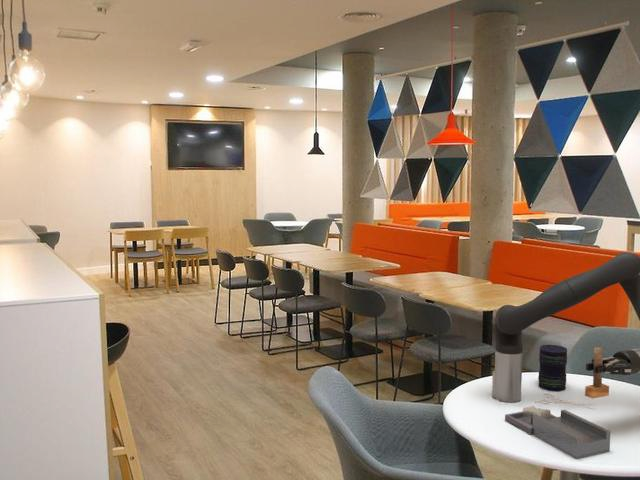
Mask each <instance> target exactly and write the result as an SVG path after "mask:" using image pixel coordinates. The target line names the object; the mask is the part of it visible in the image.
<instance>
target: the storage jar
mask: <svg viewBox="0 0 640 480" xmlns="http://www.w3.org/2000/svg"><path fill="white" fill-rule="evenodd" d="M538 355H539V356H538V357H539V358H538V361H539V370H538V377H537V378H538V388H540V389H541V390H544V391H546V392H547V391H548V392H558V393H559V392H564V391H566V389H567V387H566V385H567V373H566V371H567V369H566V368H567V363H568V349H567V347H565V346H563V345H562V346H561V345H557V344H543V345H540V346H539V354H538Z"/></svg>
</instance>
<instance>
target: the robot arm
mask: <svg viewBox="0 0 640 480" xmlns="http://www.w3.org/2000/svg"><path fill="white" fill-rule="evenodd" d="M616 284H619V286H620V287H621V288H622V289H623V291H624V292H625V294H626V296H627V299H629V302H630V303H631V305H632V307H633V309H634V312H635V314H636V316H637V318H638V320H639V321H640V256H638V255H637V254H635V253H634V252H629V251H625V252H620V253H619V254H617V255H615V256H614V257H613V258H611V259H609V260H608V261H606V262H604V263H602V264H601V265H599V266H596V267H595V268H592V269H590V270H587V271H584V272H581V273H578V274H575V275H573V276H570V277H568V278H565V279H563V280H562V281H559V282H556V283H555V284H553V285H551V286H549V287H548V288H547V289H545V290H543V292H541V293H540V294H538V296H536V297H535V298H533V299H532V300H530V301H528V302H526V303H524V304H521V305H519V306H515V305H512V304H504V305H502V306H499V308H498V310H497V311H496V313H495V319H494V344H495V346H494V349H495V354H494V370H493V371H492V384H491V386H492V387H491V389H492V390H491V398H494V399H496V400H498V401H500V402H505V403H506V402H507V403H516V402H520V401H521V400H522V381H523V380H522V379H523V378H522V377H523V375H522V374H523V347H524V346H523V336H522V335H523V331H524V330H525V329H527V328H529V327H530V326H532V325H534V324H535V323H537V322H540V321H541V320H543V319H545V318H548V317H551V316H553V315H556V314H558V313H560V312H563V311H565V310H567V309H570V308H572V307H574V306H577V305H578V304H581V303H583V302H584V301H586V300H588V299H590V298H591V297H593V296H595V295H597V294H598V293H600V292H601V291H603V290H604V289H606V288H608V287H611V286H614V285H616ZM585 371H588V372H590V371H592V372H593V373H596V374H597V373H602V374H603V373H604V374H610V375H612V376H613V375H620V376H621V375H622V376H628V375H629V376H630V375H635V374H640V348H632V349H626V350H625V349H624V350H619V351H616V352H615V353H614V354H613V355H612V356H608V357H603V360H602V365H597V366H594V357H593V358H591V362H587V363H586V364H585Z"/></svg>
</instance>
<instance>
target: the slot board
mask: <svg viewBox="0 0 640 480" xmlns="http://www.w3.org/2000/svg"><path fill="white" fill-rule="evenodd" d="M611 432H612V431H610V430H608V429H606V428H604V427H603V426H600V425H598V424H596V423H594V422H591V421H589V420H588V419H586V418H583V417H581V416H579V415H577V414H574V413H572V412H570V411H568V410H566V409H560V416H556V417H555V418H550V419H544V418H542V417H540V416H538V415H534V416H533V426H532V435H533V436H534V437H537V439H539V440H542V441H544V442H545V443H547V444H549V445H550V446H552V447H553V448H556V449H557V450H559V451H561V452H563V453H564V454H567V455H568V456H570V457H571V458H573V459H576V460H578V459H581V458H585V457H591V456H595V455H599V454H605V453H609V452H610V451H611Z"/></svg>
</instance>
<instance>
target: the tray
mask: <svg viewBox="0 0 640 480" xmlns="http://www.w3.org/2000/svg"><path fill="white" fill-rule="evenodd" d="M538 409H541V408H538ZM555 417H557V416H556V415H553V414H552V413H551V418H555ZM504 421H505V422H507V423H508V424H510V425H512V426H513V427H515V428H517V429H519V430H520V431H521V430H522V431H523V432H525V433H526V434H527V435H532V426H533V424H530V423H528V422H526V421H524V420H523V410H522V411H518V412H512V413H508V414H505V415H504Z"/></svg>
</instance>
